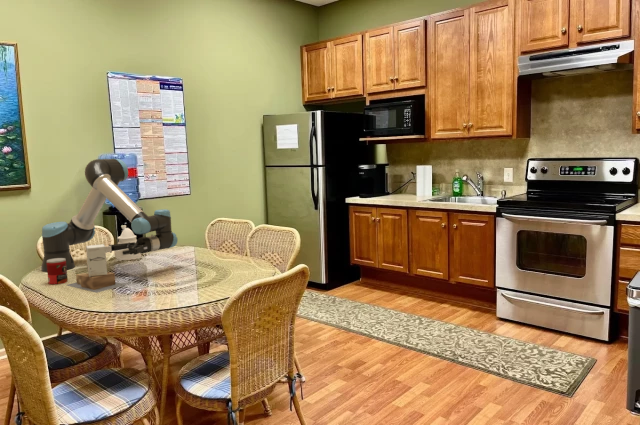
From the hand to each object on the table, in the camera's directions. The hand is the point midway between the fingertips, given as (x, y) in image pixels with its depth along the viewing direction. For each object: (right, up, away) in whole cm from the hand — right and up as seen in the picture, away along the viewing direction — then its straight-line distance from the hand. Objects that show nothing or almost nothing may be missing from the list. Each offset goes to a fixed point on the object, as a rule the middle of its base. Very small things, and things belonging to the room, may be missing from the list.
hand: (106, 252), depth 218 cm
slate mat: (-4, -15, -1) cm, 15 cm away
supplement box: (-2, -9, -3) cm, 10 cm away
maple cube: (-11, -14, +2) cm, 18 cm away
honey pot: (-13, -8, +58) cm, 60 cm away
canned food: (-24, -15, +5) cm, 28 cm away
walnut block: (-2, -14, -3) cm, 15 cm away
